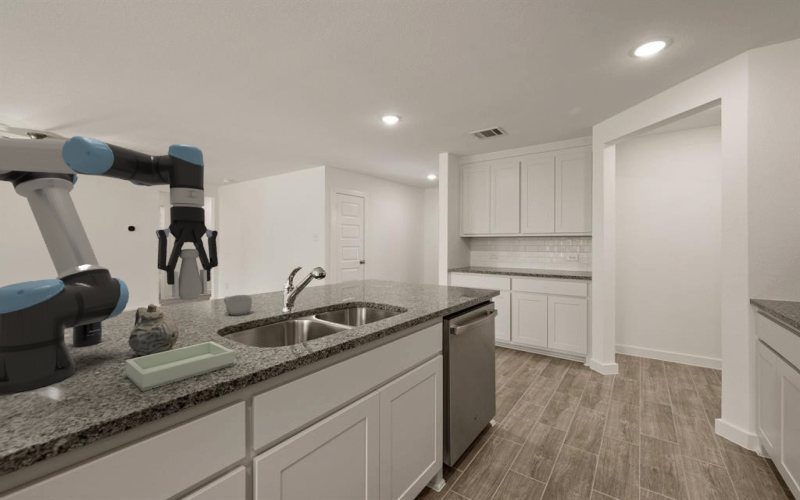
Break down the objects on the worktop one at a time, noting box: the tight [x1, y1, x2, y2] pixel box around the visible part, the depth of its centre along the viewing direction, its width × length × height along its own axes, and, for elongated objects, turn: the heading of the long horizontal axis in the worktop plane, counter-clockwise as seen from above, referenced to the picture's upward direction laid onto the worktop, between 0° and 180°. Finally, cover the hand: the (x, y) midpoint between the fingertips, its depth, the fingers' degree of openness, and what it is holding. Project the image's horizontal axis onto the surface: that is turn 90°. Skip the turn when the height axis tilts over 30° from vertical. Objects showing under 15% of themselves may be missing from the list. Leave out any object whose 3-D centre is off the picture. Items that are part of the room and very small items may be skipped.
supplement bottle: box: [72, 321, 103, 347], centre depth 106 cm, size 7×7×12 cm
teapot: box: [128, 303, 179, 357], centre depth 96 cm, size 21×12×15 cm, turn 59°
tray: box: [125, 340, 235, 392], centre depth 85 cm, size 20×14×4 cm
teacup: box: [223, 294, 253, 317], centre depth 150 cm, size 14×11×8 cm
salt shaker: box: [178, 248, 203, 301], centre depth 86 cm, size 6×6×13 cm
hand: (189, 295), depth 86 cm, fingers closed on salt shaker, 6 cm apart
